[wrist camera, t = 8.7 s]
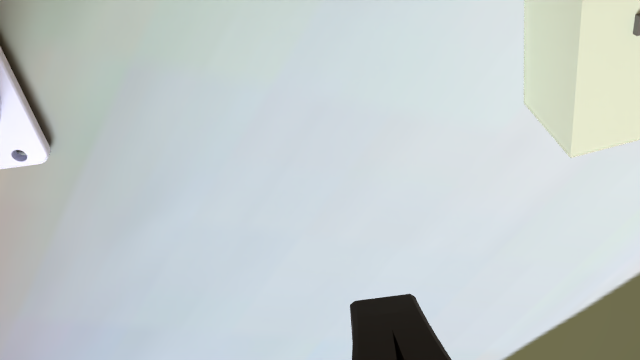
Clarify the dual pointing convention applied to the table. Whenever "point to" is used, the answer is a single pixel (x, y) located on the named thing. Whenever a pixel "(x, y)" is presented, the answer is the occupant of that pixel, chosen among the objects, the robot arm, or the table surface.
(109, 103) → the table surface
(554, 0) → the numbered block seven
